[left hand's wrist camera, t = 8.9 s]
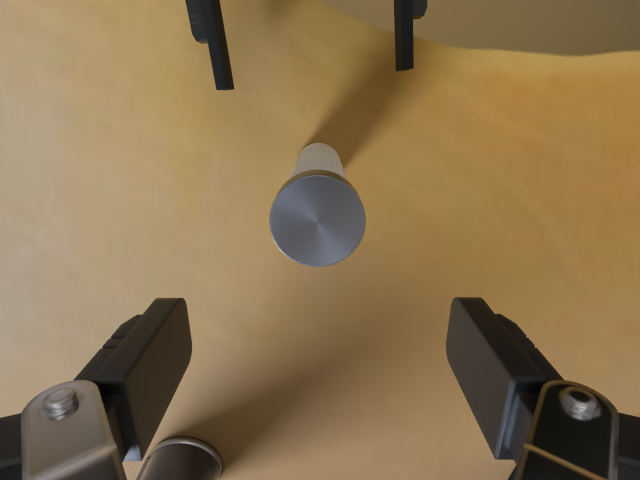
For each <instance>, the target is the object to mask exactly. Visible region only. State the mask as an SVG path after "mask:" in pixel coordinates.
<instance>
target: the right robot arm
mask: <svg viewBox="0 0 640 480" xmlns="http://www.w3.org/2000/svg"><path fill="white" fill-rule="evenodd" d="M186 5H187V10H188V15H189V20H190V24H191V30H192V34H193V36H194V38H195V40H196V41H197V42H200V43H202V44H203V43H208V46H209V51H210V57H211V62H212V68H213V73H214V78H215V84H216V89H217V90H232V89H234V84H233V78H232V72H231V66H230V60H229V54H228V48H227V42H226V36H225V30H224V25H223V19H222V13H221V7H220V1H219V0H186ZM426 8H427V0H394V18H395V53H396V71H405V70H409V69H412V68H414V67H413V19H420V18H421V17H422V16H424V14H425V11H426Z"/></svg>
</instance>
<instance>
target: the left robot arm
mask: <svg viewBox="0 0 640 480" xmlns="http://www.w3.org/2000/svg"><path fill="white" fill-rule="evenodd" d="M446 352H447V358H448V361H449V364H450V366H451V368H452V370H453V372H454V374H455V377H456V379H457V381H458V383H459V385H460V387H461V389H462V391H463V393H464V395H465V397H466V399H467V402H468V404H469V406H470V408H471V410H472V412H473V414H474V416H475V418H476V420H477V422H478V424H479V426H480V429H481V431H482V433H483V435H484V437H485V439H486V441H487V443H488V445H489V447H490V449H491V451H492V453H493V456H494V458H495V459H514V461H515V463H516V465H517V469H516V472H515V475H514V478H513V480H640V417H636V416H631V415H627V414H622V413H618V411H617V410H616V408H615V407H614V405H613V404H612V403H611V402H610V401H609V400H608V399H607V398H606V397H604V396H603V395H601V394H600V393H598V392H597V391H595V390H593V389H591V388H589V387H587V386H585V385H582V384H579V383H576V382H572V381H566V380H564V379H563V378H562V377H561V376H560V375H559V373H558V372H557V371H556V370H555V369H554V368H553V366H552V365H551V364H550V363H549V362H548V361H547V359H546V358H545V357H544V356H543V355H542V354H541V352H540V351H539V350H538V349H537V348H535V345H534V344H533V343H532V342H531V341H530V340H529V338H526V335H525V334H524V333H523V331H522V330H521V329H520V328H519V327H518V326H517V324H515V323H514V322H512V321H511V320H509V319H508V318H506V317H504V316H503V315H501V314H494V312H493V311H492V310H491V309H490V307H489V306H488V305H487V304H486V302H485V301H484V300H483V299H482V298H480V297H456V298H454V299H453V301H452V304H451V311H450V318H449V326H448V333H447V340H446ZM191 353H192V340H191V333H190V326H189V319H188V312H187V305H186V302H185V300H184V299H183V298H157V299H155V300H154V301H153V303H152V304H151V305H150V306H149V308H148V309H147V310H146V311H145V313H144V314H143V315H136V316H134V317H133V318H131V319H130V320H128V321H126V322H125V323H123V324H122V325H121V326H120V327H119V328H118V329H117V330H116V332H115V333H114V334H113V335H112V336H111V339H109V340H108V341H107V342H106V343H105V344H104V345H103V348H102V349H100V350H99V351H98V352H97V354H96V355H95V356H94V357H93V358H92V359H91V360H90V362H89V363H88V364H87V365H86V366H85V367H84V369H83V370H82V371H81V372H80V373H79V374H78V376H77V377H76V378H75V379H74V380H73V381H68V382H64V383H61V384H58V385H55V386H53V387H51V388H49V389H47V390H45V391H43V392H42V393H40V394H39V395H37V396H36V397H34V398H33V399H32V400H31V401H30V402H29V403H28V404H27V405H26V407H25V408H24V410H23V411H22V413H20V414H16V415H11V416H7V417H3V418H0V480H127V478H126V475H125V472H124V469H123V465H122V462H123V461H142V459H143V457H144V455H145V453H146V451H147V449H148V447H149V445H150V443H151V441H152V439H153V437H154V435H155V433H156V431H157V429H158V427H159V424H160V422H161V420H162V418H163V416H164V414H165V412H166V410H167V408H168V406H169V404H170V402H171V400H172V398H173V396H174V394H175V392H176V390H177V387H178V385H179V383H180V381H181V379H182V377H183V375H184V373H185V371H186V369H187V367H188V365H189V362H190V359H191ZM221 471H222V461H221V458H220V456H219V455H218V453H217V452H216V451H215V450H214V449H213V448H212V447H211V446H210V445H208V444H207V443H205V442H203V441H200V440H197V439H194V438H189V437H176V438H171V439H167V440H165V441H163V442H161V443H160V444H158V445H157V446H156V447H155V449H154V450H153V452H152V454H151V456H150V458H149V459H146V460H145V462H144V464H143V466H142V468H141V470H140V473H139V475H138V477H137V479H136V480H219V478H220V475H221Z"/></svg>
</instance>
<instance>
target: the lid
mask: <svg viewBox="0 0 640 480" xmlns="http://www.w3.org/2000/svg"><path fill="white" fill-rule="evenodd" d="M365 220H366V219H365V212H364V208H363V205H362V203H361V200H360V197H359V195H358V193H357V191H356V190H355V188H354V187H353V186H352V184H351V183H350V182H349V181H348V180H346V179H345V178H344V177H342V176H340V175H339V174H336V173H334V172H331V171H327V170H308V171H304V172H301V173H299V174H297V175H295V176H293V177H292V178H290V179H289V180H288V181H287V182H286V183H285V184H284V185H283V186H282V187H281V189H280V190H279V192H278V194H277V195H276V198H275V200H274V202H273V205H272V208H271V212H270V230H271V234H272V236H273V239H274V241H275V243H276V244H277V246H278V247H279V249H280V250H281V251H282V252H283V253H284V254H285V255H286V256H288V257H289V258H290V259H292V260H294V261H296V262H298V263H301V264H303V265H307V266H315V267H320V266H328V265H332V264H335V263H337V262H339V261H341V260H343V259H345V258H346V257H348V256H349V255H350V254H351V253H352V252H353V251H354V250H355V249H356V248H357V246H358V245H359V243H360V241H361V239H362V237H363V234H364V230H365Z"/></svg>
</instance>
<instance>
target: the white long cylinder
mask: <svg viewBox="0 0 640 480" xmlns="http://www.w3.org/2000/svg"><path fill="white" fill-rule="evenodd" d="M308 170H327V171H331V172H334V173H336V174H339V175H340V176H342V177H344V178H345V179H346V176H345V173H344V170H343V167H342V163H341V160H340V157H339V155H338V153H337V152H336V151H335V150H334V149H333V148H332V147H331V146H329V145H327V144H324V143H313V144H310V145H308V146H306V147H305V148H304V149H303V150H302V151H301V152H300V153H299V155H298V158H297V160H296V163H295V166H294V169H293V171H292V174H291V177H290V178H292V177H293V176H295V175H297V174H299V173H301V172H304V171H308ZM346 180H347V179H346Z"/></svg>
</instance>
